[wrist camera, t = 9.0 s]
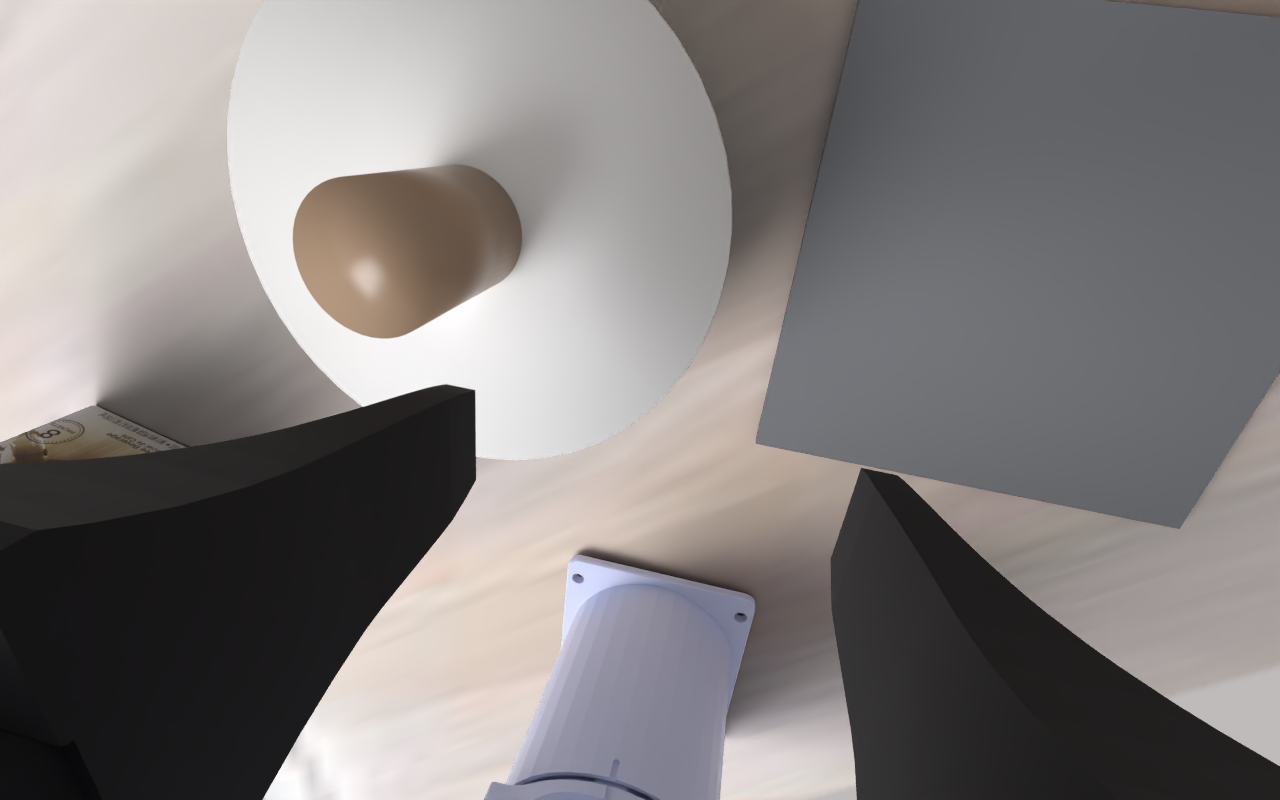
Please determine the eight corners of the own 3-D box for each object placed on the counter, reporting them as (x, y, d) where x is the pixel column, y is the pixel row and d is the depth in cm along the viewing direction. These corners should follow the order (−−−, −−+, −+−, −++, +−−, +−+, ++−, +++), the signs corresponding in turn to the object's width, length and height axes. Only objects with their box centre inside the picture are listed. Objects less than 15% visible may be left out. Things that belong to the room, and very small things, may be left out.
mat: (1172, 521, 20) (1179, 528, 20) (756, 438, 22) (755, 443, 21) (1473, 40, 14) (1491, 38, 14) (863, -20, 16) (865, -24, 15)
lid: (688, 486, 17) (660, 603, 13) (287, 401, 19) (147, 480, 15) (788, -62, 12) (797, -171, 7) (208, -114, 13) (-56, -227, 9)
